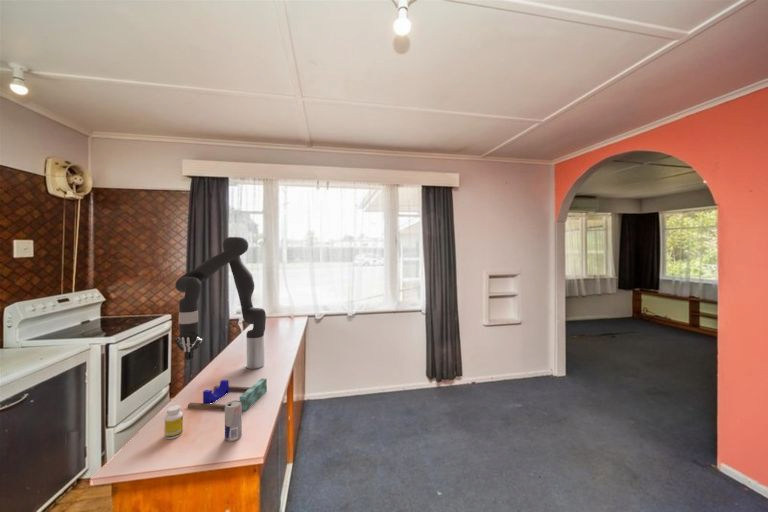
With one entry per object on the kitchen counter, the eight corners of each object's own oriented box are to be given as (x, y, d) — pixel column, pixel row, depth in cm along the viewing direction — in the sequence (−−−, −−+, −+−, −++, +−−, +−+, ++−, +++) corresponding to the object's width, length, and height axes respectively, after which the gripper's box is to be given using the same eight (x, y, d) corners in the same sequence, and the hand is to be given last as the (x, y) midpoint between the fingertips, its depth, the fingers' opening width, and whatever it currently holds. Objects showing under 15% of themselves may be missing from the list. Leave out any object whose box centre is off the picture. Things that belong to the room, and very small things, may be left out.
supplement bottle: (184, 434, 110) (184, 407, 109) (166, 441, 106) (166, 413, 105) (180, 428, 113) (180, 402, 113) (162, 435, 109) (162, 408, 109)
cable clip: (220, 392, 143) (219, 379, 143) (228, 393, 142) (228, 380, 142) (200, 405, 131) (200, 391, 131) (209, 405, 130) (209, 392, 130)
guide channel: (215, 388, 146) (215, 376, 146) (266, 391, 143) (266, 378, 143) (187, 407, 128) (187, 393, 128) (245, 411, 126) (245, 396, 125)
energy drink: (228, 433, 111) (228, 400, 110) (244, 432, 111) (243, 399, 111) (222, 442, 105) (221, 408, 105) (238, 441, 106) (238, 407, 105)
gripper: (208, 319, 140) (208, 357, 141) (181, 318, 142) (181, 356, 142) (196, 323, 133) (196, 363, 133) (168, 322, 134) (168, 361, 135)
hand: (189, 359), depth 138 cm, fingers closed
